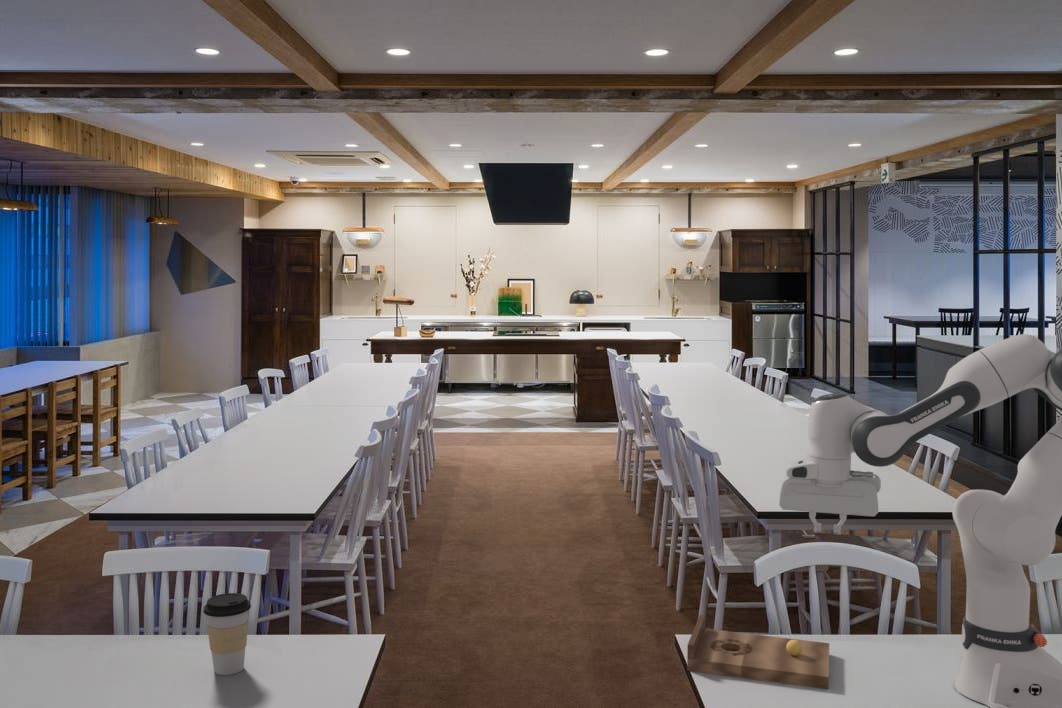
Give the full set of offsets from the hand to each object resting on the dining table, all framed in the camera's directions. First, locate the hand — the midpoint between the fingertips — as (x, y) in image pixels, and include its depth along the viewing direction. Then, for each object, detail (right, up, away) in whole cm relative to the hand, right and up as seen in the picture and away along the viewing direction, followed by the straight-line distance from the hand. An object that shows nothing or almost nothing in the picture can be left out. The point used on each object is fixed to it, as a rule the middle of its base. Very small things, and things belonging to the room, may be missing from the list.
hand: (827, 532), depth 194 cm
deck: (-15, -27, -1) cm, 31 cm away
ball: (-8, -23, -4) cm, 25 cm away
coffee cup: (-127, -28, -5) cm, 130 cm away
